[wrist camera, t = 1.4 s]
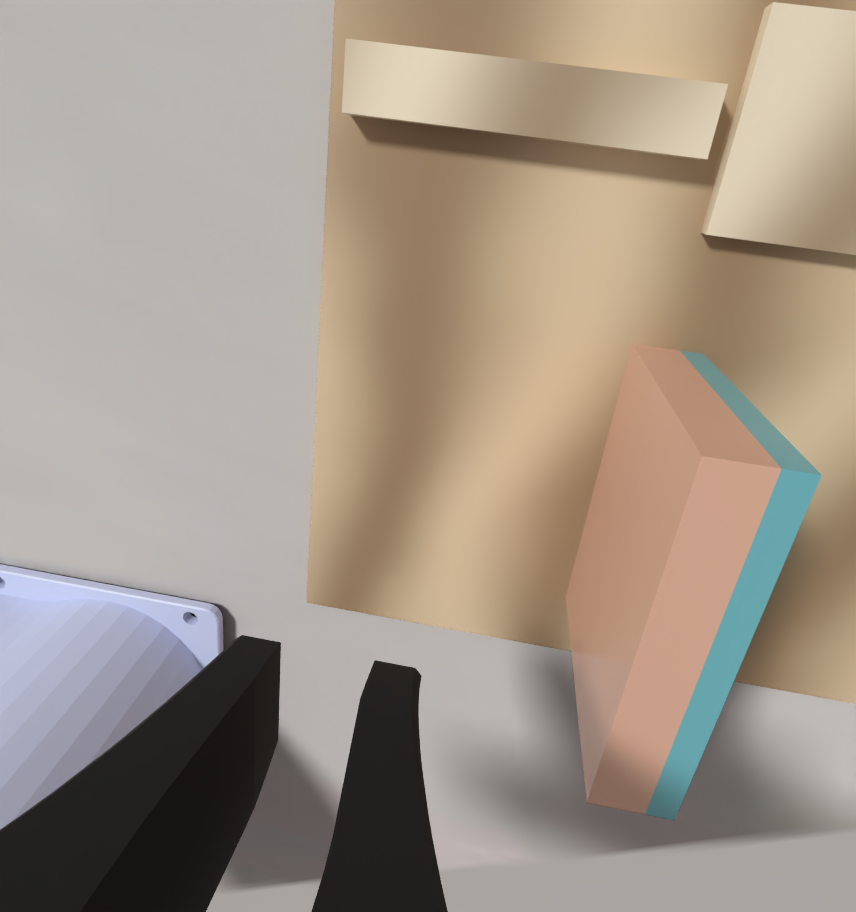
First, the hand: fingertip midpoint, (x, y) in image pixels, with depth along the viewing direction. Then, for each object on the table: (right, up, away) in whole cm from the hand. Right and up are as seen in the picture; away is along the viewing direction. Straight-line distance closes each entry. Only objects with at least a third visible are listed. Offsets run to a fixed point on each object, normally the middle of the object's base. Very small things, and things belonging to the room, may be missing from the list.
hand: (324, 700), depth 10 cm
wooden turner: (+7, +11, +4) cm, 14 cm away
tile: (+7, +3, +8) cm, 11 cm away
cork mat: (+8, +6, +7) cm, 12 cm away
